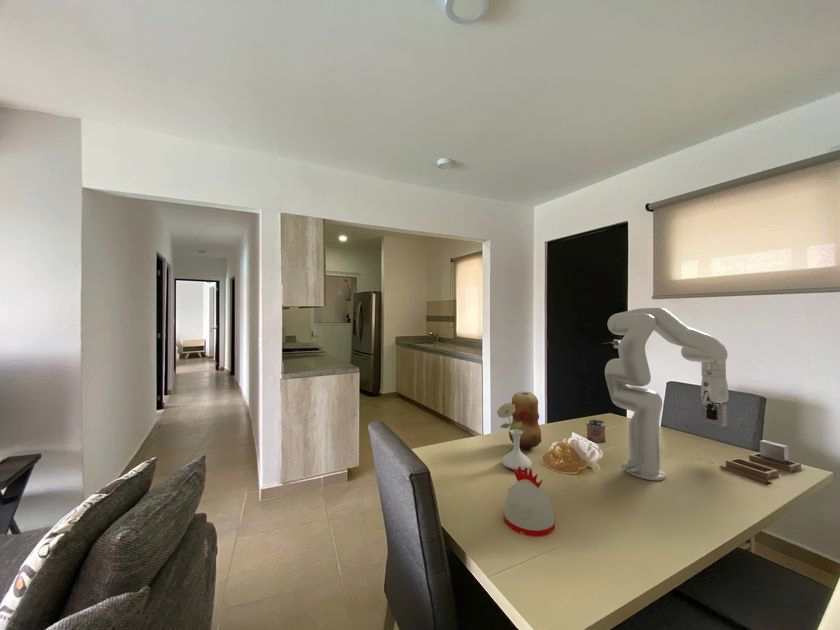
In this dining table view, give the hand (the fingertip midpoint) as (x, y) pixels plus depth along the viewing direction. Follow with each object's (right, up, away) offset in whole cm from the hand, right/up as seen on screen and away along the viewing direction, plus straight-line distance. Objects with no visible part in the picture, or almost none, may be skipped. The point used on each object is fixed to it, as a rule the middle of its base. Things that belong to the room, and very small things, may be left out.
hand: (714, 418), depth 136 cm
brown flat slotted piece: (+9, -17, -10) cm, 22 cm away
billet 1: (0, -2, 0) cm, 2 cm away
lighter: (-36, -18, +23) cm, 46 cm away
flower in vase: (-83, -18, -5) cm, 85 cm away
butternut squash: (-73, -18, +13) cm, 76 cm away
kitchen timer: (-89, -17, -41) cm, 100 cm away
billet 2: (+16, -15, -8) cm, 24 cm away
